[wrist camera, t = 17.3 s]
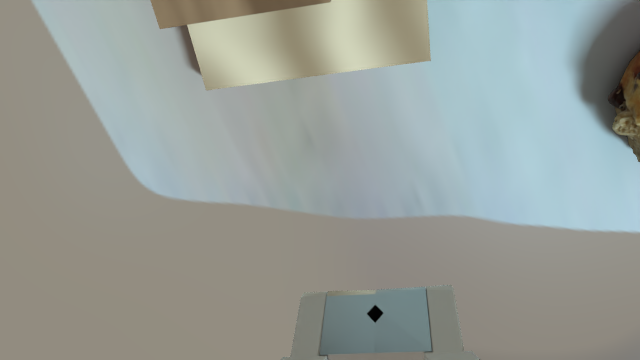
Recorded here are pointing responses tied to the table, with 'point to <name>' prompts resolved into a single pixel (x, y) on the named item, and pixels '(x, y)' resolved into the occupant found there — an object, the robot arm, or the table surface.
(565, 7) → the table surface
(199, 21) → the walnut block
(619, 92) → the bread roll
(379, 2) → the board
